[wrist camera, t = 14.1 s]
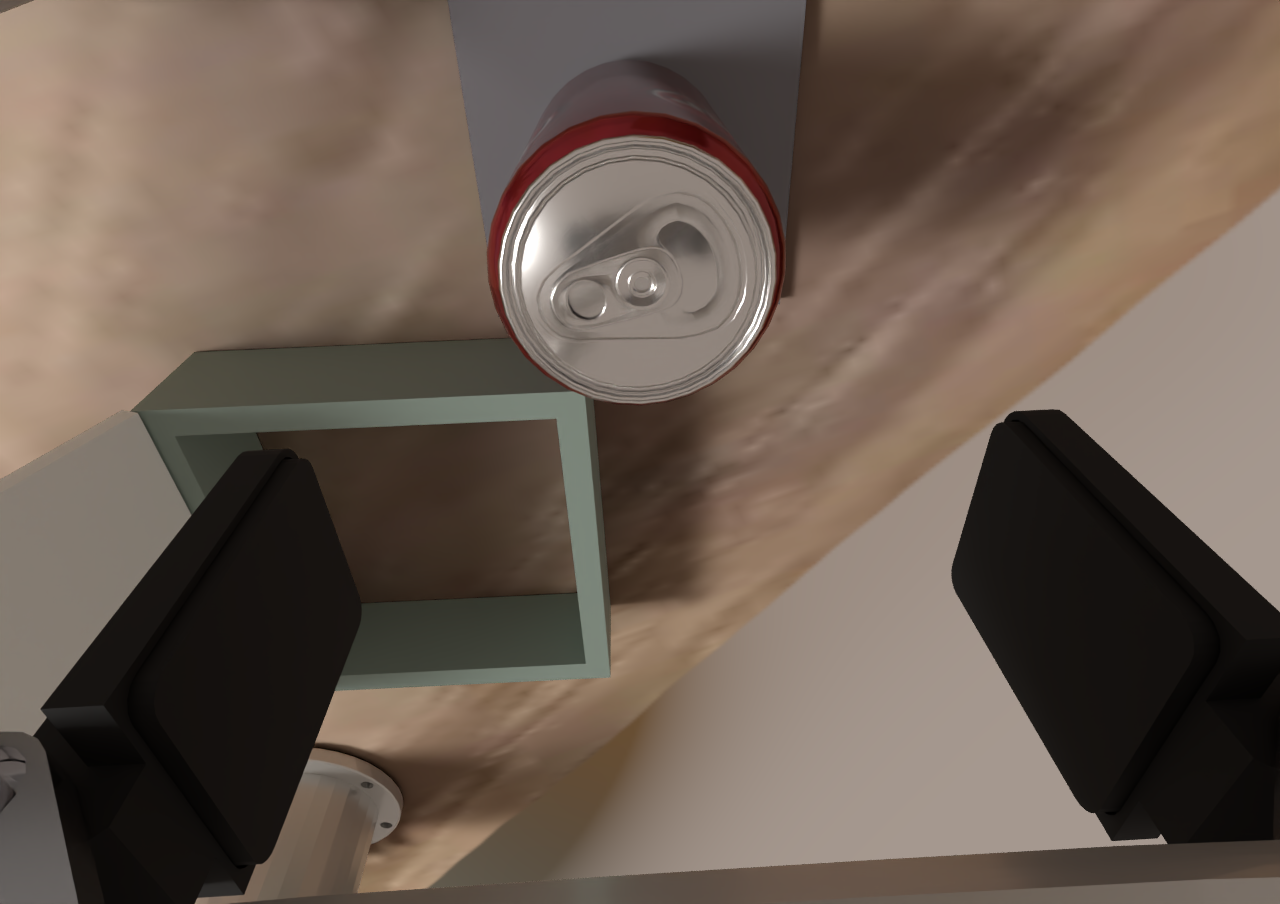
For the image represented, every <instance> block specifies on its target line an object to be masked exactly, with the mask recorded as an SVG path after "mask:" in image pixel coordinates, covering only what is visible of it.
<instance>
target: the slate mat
mask: <svg viewBox="0 0 1280 904" xmlns="http://www.w3.org/2000/svg"><path fill="white" fill-rule="evenodd" d="M448 5H449V11H450V18H451V24H452V30H453V36H454V43H455V49H456V55H457V61H458V67H459V74H460V80H461V86H462V92H463V99H464V105H465V111H466V117H467V123H468V130H469V136H470V142H471V148H472V155H473V161H474V167H475V173H476V179H477V186H478V192H479V198H480V204H481V211H482V217H483V223H484V229H485V235H486V242H487V247H488V241H489V234H490V228H491V222H492V220H493V217H494V214H495V212H496V209H497V206H498V204H499V201H500V198H501V196H502V193H503V191H504V189H505V187H506V185H507V183H508V181H509V180H510V178H511V176H512V174H513V172H514V170H515V168H516V166H517V164H518V162H519V160H520V158H521V156H522V154H523V152H524V150H525V148H526V146H527V144H528V142H529V140H530V138H531V136H532V134H533V132H534V130H535V128H536V126H537V124H538V122H539V120H540V118H541V116H542V114H543V112H544V111H545V109H546V108H547V106H548V104H549V103H550V101H551V100H552V98H553V97H554V96H555V95H556V94H557V93H558V92H559V91H560V89H561V88H562V87H563V86H564V85H565V84H566V83H567V82H568V81H570V80H572V79H573V78H575V77H576V76H578V75H579V74H581V73H582V72H584V71H585V70H587V69H590V68H593V67H595V66H598V65H600V64H603V63H606V62H613V61H620V60H637V61H647V62H651V63H654V64H657V65H660V66H663V67H667V68H668V69H670V70H672V71H674V72H675V73H677V74H679V75H681V76H682V77H684V78H685V79H687V80H688V81H689V82H690V83H691V84H692V85H693V86H694V87H695V88H697V89H698V90H699V91H700V92H701V93H702V95H703V96H704V97H705V99H706V100H707V102H708V103H709V104H710V106H711V107H712V108H713V110H714V111H715V113H716V114H717V115H718V117H719V118H720V120H721V121H722V122H723V124H724V125H725V127H726V128H727V129H728V131H729V132H730V134H731V135H732V136H733V138H734V139H735V141H736V142H737V143H738V145H739V146H740V148H741V149H742V151H743V152H744V153H745V155H746V156H747V158H748V159H749V160H750V162H751V163H752V165H753V166H754V167H755V169H756V170H757V172H758V173H759V174H760V176H761V177H762V179H763V180H764V181H765V183H766V184H767V186H768V188H769V190H770V192H771V195H772V197H773V199H774V201H775V204H776V206H777V208H778V210H779V213H780V217H781V222H782V227H783V231H784V236H785V238H786V227H787V215H788V204H789V192H790V181H791V170H792V158H793V147H794V135H795V124H796V112H797V101H798V90H799V78H800V67H801V55H802V44H803V33H804V21H805V10H806V0H448ZM778 304H780V300H779V303H778ZM498 316H499V315H498Z"/></svg>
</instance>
